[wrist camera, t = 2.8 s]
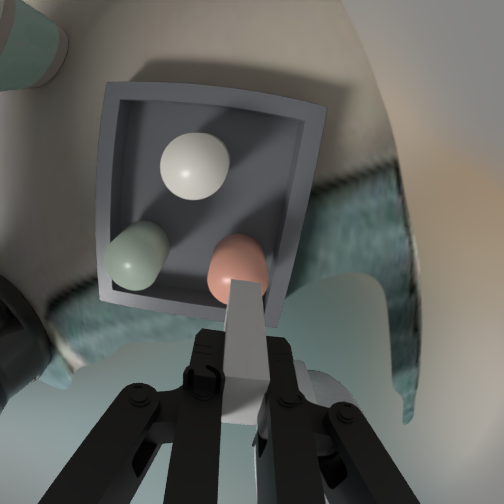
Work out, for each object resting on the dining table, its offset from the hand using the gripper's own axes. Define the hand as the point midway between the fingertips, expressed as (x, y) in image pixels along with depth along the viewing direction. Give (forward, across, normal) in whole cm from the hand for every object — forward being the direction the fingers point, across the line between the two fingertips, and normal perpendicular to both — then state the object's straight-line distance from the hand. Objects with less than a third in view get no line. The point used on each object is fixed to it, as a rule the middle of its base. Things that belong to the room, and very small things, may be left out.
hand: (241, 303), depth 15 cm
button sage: (+6, -7, 0) cm, 9 cm away
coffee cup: (+8, -20, +14) cm, 26 cm away
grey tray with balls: (+8, -4, +3) cm, 9 cm away
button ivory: (+6, -4, +6) cm, 9 cm away
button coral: (+6, 0, 0) cm, 6 cm away
